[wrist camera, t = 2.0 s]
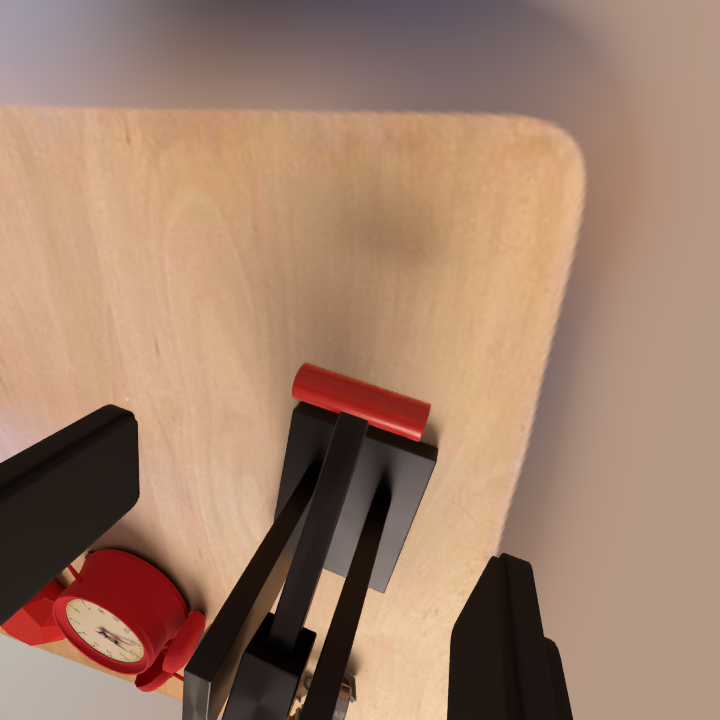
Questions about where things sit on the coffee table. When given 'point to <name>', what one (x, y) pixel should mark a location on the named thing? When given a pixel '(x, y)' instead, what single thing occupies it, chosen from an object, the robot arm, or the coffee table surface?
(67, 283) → the coffee table surface
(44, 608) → the gemstone
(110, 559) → the alarm clock
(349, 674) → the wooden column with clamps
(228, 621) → the black lever base
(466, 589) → the coffee table surface
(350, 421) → the red handled lever
